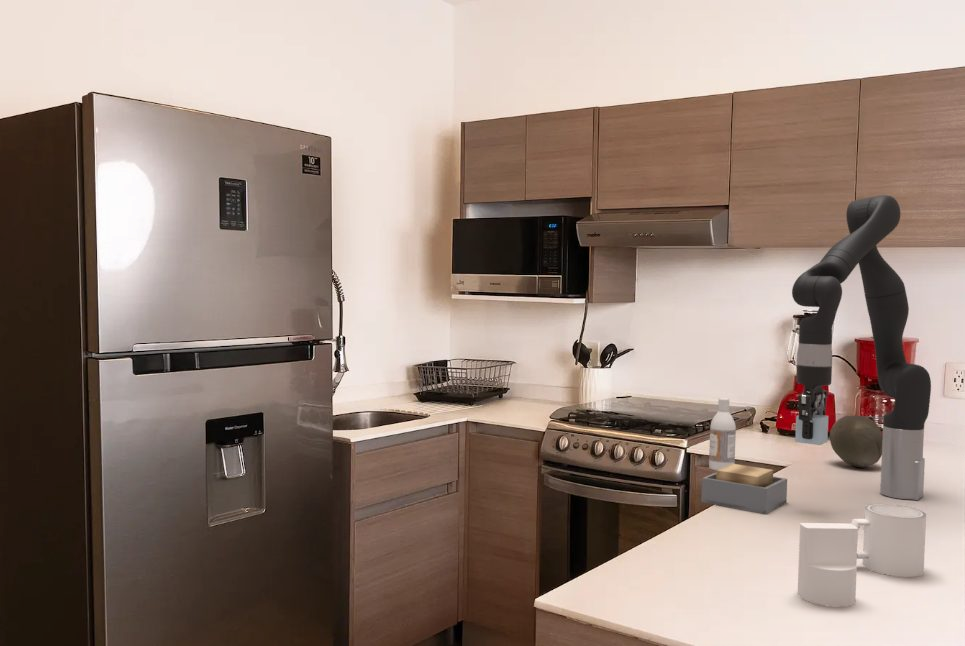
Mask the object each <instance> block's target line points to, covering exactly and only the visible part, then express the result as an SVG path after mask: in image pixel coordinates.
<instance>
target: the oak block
mask: <svg viewBox="0 0 965 646" xmlns="http://www.w3.org/2000/svg"><path fill="white" fill-rule="evenodd" d="M716 472H717V473H716ZM716 472H715V473H716V480H722V481H728V482H734V483H740V484H746V485H752V486H758V487H764V488H765V487H767V486H769V485H771V484H773V477H774V469H771V468H770V469H769V468H762V467H756V466H751V465H750V466H749V465H744V464H736V463H735V464H731V465H729V466H726V467H724V468H721V469H719V470H716Z"/></svg>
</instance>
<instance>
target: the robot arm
mask: <svg viewBox="0 0 965 646" xmlns="http://www.w3.org/2000/svg"><path fill="white" fill-rule="evenodd" d="M901 213H902V212H901V208H900V204H899V203H898V201H897V200H896V198H895V197H893V196H891V195H886V194H885V195H876V196H870V197H866V198H860V199H856V200H852V201H850V203H849V204H848V206H847V208H846V223H847V224H846V225H847V228H848V232H849V234H848V235H847V236H845V237H843V238H841V240H839V241H838V242H836V243H835V244H834V245H833V246H832V247H830V248H829V250H828V251H827V252H826V254H825V255H824V256H823V257H822V259H821V260H820V261H819V262H818V263H815V264H814V265H813V266H811V267H810V268H808V269H807V270H806V271H804V272H803V273H801V274H800V276H798V277H797V278H796V280H795V281H794V282H793V285H792V289H791V296H792V299H793V301H794V302H795V304H797V305H799V306H801V307H807V308H808V307H809V308H811V307H813V308H818V310H817V312H816V313H815V314H814V316H809V317H808V316H807V317H805V318H802V319H801V320H800V321H799V326H798V327H799V328H798V346H797V353H796V374H795V375H796V376H795V377H796V378H795V381H796V384H799V385H803V391H802V392H801V393H800V394H798V396H797V400H798V401H797V403H798V404H797V405H798V406H797V407H798V409H797V410H798V415H799V420H801V422H803V423H802V438H804V439H812V438H813V422H814V416H815V415H824V416H826V414H827V413H826V412H827V411H826V410H827V402H828V401H827V400H828V390H825V389H824V388H823V387H826V386H830V385H831V384H832V377H833V374H832V373H833V349H832V348H833V347H832V343H833V341H832V340H833V339H832V338H833V327H834V322H835V318H836V315H837V312H838V309H839V306H840V303H841V300H842V297H843V288H842V284H843V283H844V282H845V281H846V280H847V279H848V277H849V276H850V275H851V273H852V272H853V271H854V269H856V267H857V265H858V267H859V271H860V275H861V280H862V285H863V294H864V297H865V299H864V300H865V303H866V304H865V305H866V308H867V313H868V316H869V322H870V327H871V328H870V329H871V334H872V338H873V343H874V351H875V352H874V353H875V362H876V363H875V364H876V374H877V376H876V377H877V381H878V386H879V387H880V390H881V391H882V393H884V395H886V396H887V397H889V398H893V399H895V400H894V406H893V409H892V411H890V412H887V413H885V414H884V415H883V418H882V419H883V420H882V435H883V439H882V456H881V461H880V462H881V463H880V464H881V467H880V470H881V471H880V484H879V485H880V490H879V492H880V494H881V495H883V496H885V497H889V498H895V499H900V500H915V501H919V500H920V499H921V498H922V497H924V490H925V488H924V485H925V482H924V481H925V463H926V460H925V458H924V438H925V423H926V421H927V419H928V417H929V412H930V403H931V393H932V392H931V391H932V380H931V377H930V373H929V372H928V370H927V369H926V368H925V367H923V366H922V365H920V364H914V363H907V360H906V357H905V351H904V346H903V337H904V336H903V335H904V332H905V328H906V324H907V321H908V317H909V311H910V310H909V309H910V308H909V301H908V296H907V291H906V287H905V286H906V285H905V283H904V281H903V279H902V278H901V277H900V275H899V274H898V273H897V272H896V271H895V270H894V269H893V267H892V266H891V264H889V263H888V262H887V261H886V260H885V259H884V257H883V256H882V254H881V253H880V251H879V250H878V247H877V245H878V244H880V242H882V241H883V240H884V239H885V238H886V237H887V236H889V234H891V233H892V232H893V231H894V230H895V229H896V228H897V227H898V225H899V224H900V220H901ZM806 414H807V415H806Z"/></svg>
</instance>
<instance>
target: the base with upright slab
mask: <svg viewBox="0 0 965 646" xmlns="http://www.w3.org/2000/svg"><path fill="white" fill-rule="evenodd" d="M858 537H859V530H858V528H857V527H856V526H854V525H852V524H851V523H842V522H840V523H838V522H837V523H835V522H832V523H831V522H829V523H828V522H825V523H823V522H817V523H816V522H800V523H799V545H798V546H799V547H798V549H799V551H798V566H797V567H798V569H797V570H798V573H797V595H798V596H800V597H799V598H801V597H802V598H803V599H802V598H801V599H802V600H804V599H805V601H806V600H807V602H808V601H810V602H809V603H811V602H813V604H814V603H816V604H815V605H818V604H821V605H820V606H823V605H828V606H827V607H830V606H846V607H848V606H847V605H851V604H853V605H854V604H855V603H856V594H857V593H856V592H857V569H858V565H857V563H858V562H857V561H858V559H857V552H858V539H859V538H858ZM851 606H852V605H851Z"/></svg>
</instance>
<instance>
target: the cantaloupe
mask: <svg viewBox="0 0 965 646" xmlns="http://www.w3.org/2000/svg"><path fill="white" fill-rule="evenodd" d="M881 430H882V429H881V428H880V427H879V425H878V424H877V423H876V422H875V420H873V419H871V418H870V417H867V416H864V415H845V416H843V417H841V418H839V419H838V420H837V421H835V422H834V423H833V425H832V427H831V429H830V431H829V442H830V446H831V449H832V450H833V451H834V453H835V454H836V455H837V457H838V458H840V459H841V460H842V461H843V462H845V463H846V464H848V465H850V466H852V467H856V468H861V469H862V468H863V469H865V468H867V467H870V466H872V465H875V464H877V463H878V462H879V461H880V459H882V439H883V431H881Z"/></svg>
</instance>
